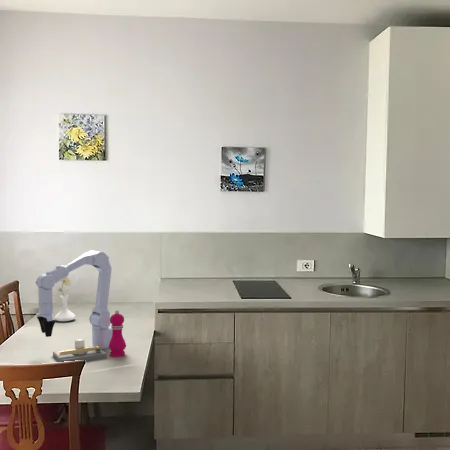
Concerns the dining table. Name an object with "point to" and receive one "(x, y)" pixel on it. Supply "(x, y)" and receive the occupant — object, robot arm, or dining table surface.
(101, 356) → the socket block
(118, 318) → the pepper mill
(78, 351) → the bar
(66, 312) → the flower in vase
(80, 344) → the plug
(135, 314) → the dining table surface
